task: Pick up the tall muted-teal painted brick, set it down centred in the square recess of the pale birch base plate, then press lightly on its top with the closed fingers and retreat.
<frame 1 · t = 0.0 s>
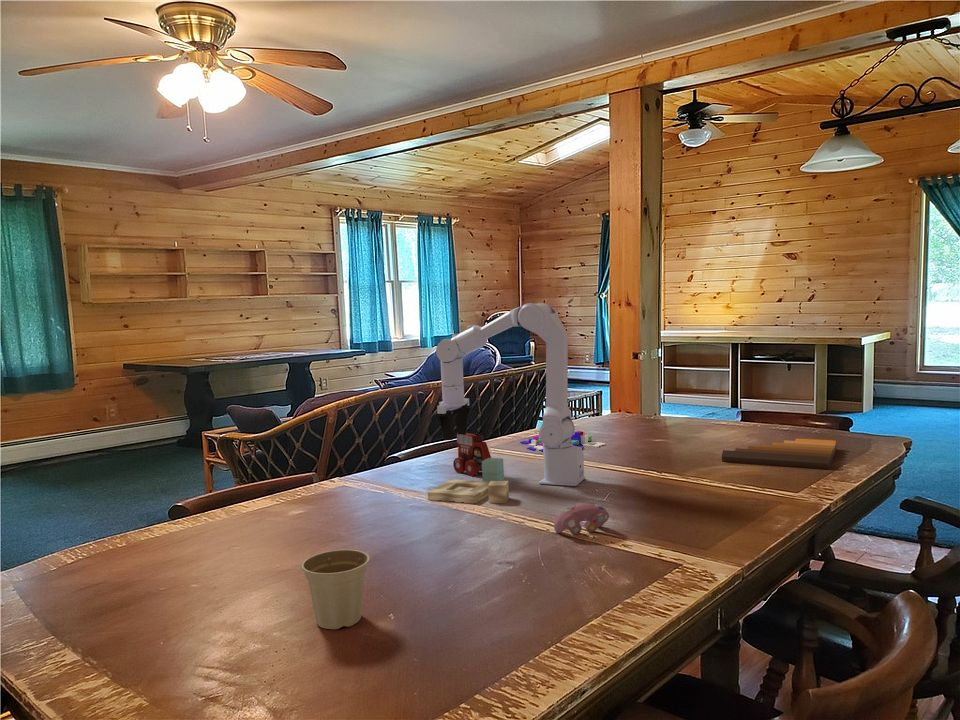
hand: (455, 436, 178), 10 cm above the table, tool pointing down, fingers open, 7 cm apart
base plate: (463, 494, 159), on the table
pan flute: (780, 458, 183), on the table
building block set: (558, 447, 211), on the table
flower pot: (339, 621, 96), on the table
teal brick: (493, 483, 168), on the table
toy fire truck: (474, 473, 181), on the table
video game controller: (582, 533, 129), on the table
maple cube: (499, 500, 153), on the table
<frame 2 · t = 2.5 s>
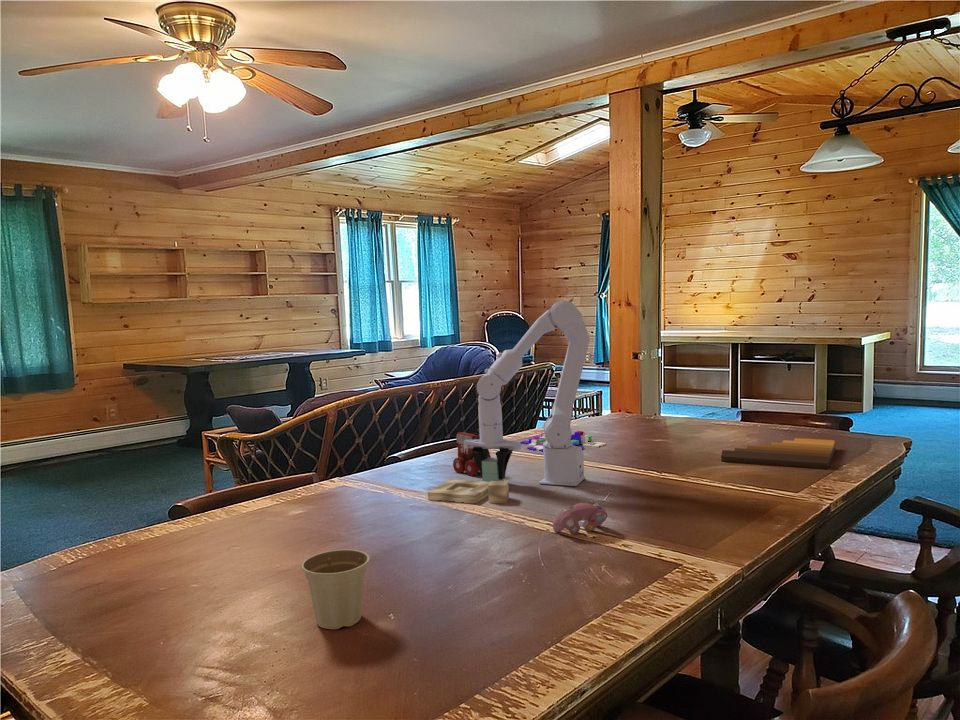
hand: (493, 478, 168), 1 cm above the table, tool pointing down, fingers closed on teal brick, 4 cm apart
teal brick: (493, 483, 168), on the table, touching gripper
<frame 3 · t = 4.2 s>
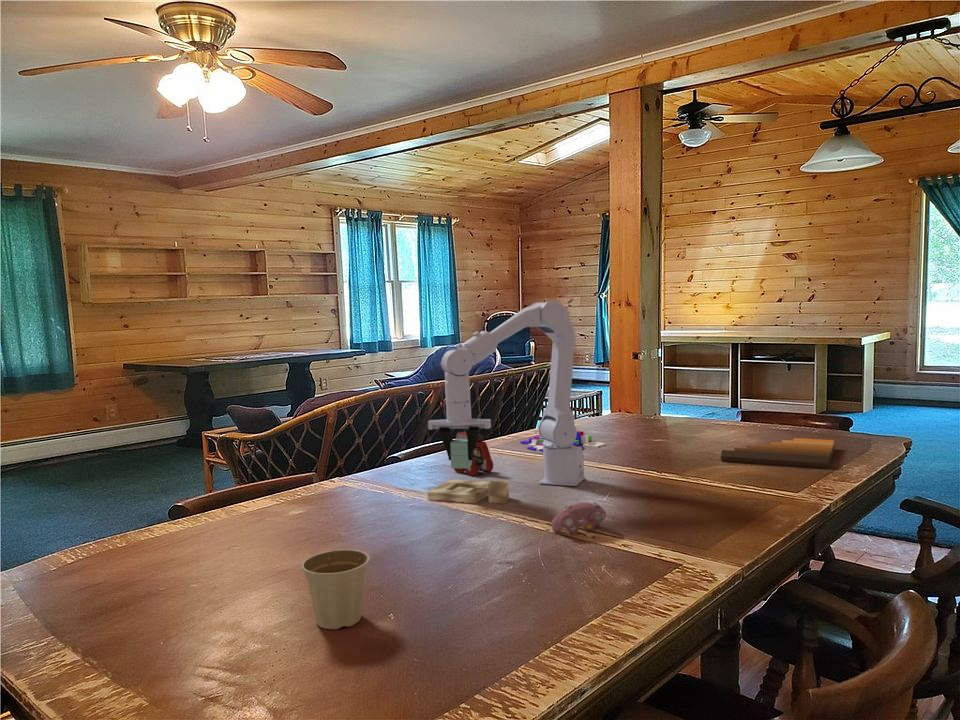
hand: (461, 459, 158), 8 cm above the table, tool pointing down, fingers closed on teal brick, 4 cm apart
teal brick: (461, 466, 159), point 7 cm above the table, touching gripper
when the fingers open (3 cm above the table, at t = 5.9 s): teal brick stays where it is, resting on base plate.
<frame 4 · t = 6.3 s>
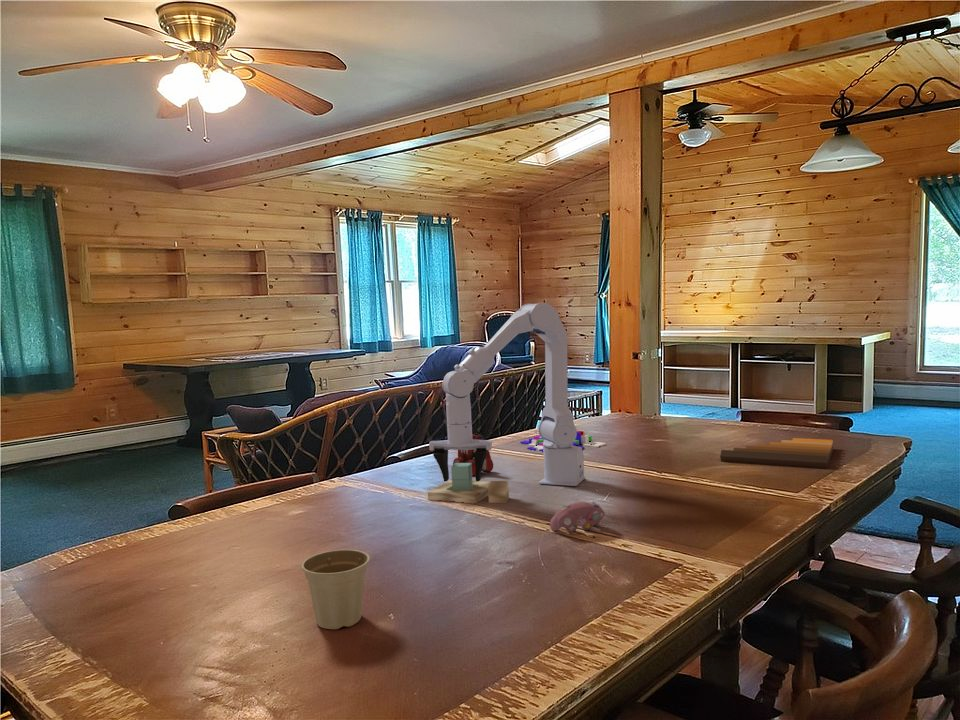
hand: (462, 480, 159), 3 cm above the table, tool pointing down, fingers open, 7 cm apart
teal brick: (462, 490, 159), point 1 cm above the table, touching base plate
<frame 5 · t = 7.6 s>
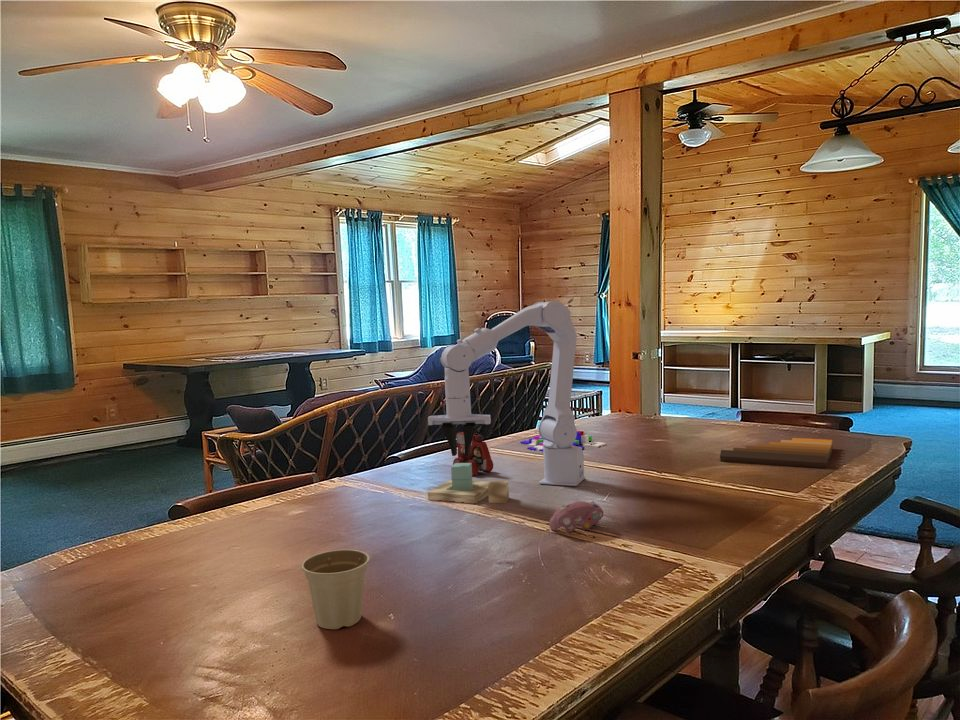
hand: (461, 455, 158), 9 cm above the table, tool pointing down, fingers closed
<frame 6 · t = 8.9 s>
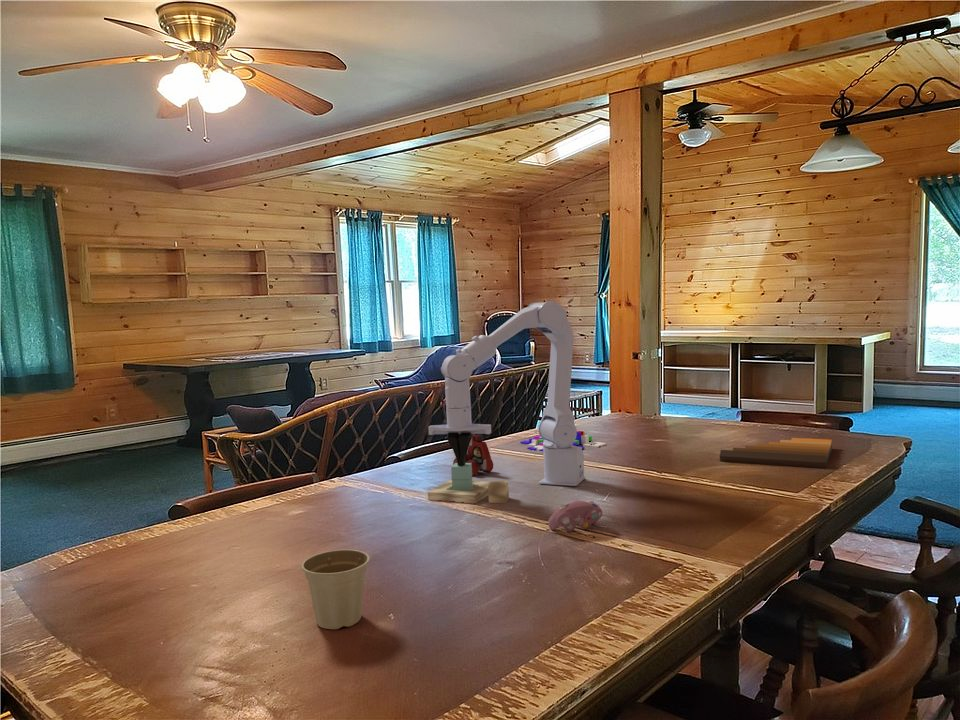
hand: (461, 464, 159), 7 cm above the table, tool pointing down, fingers closed
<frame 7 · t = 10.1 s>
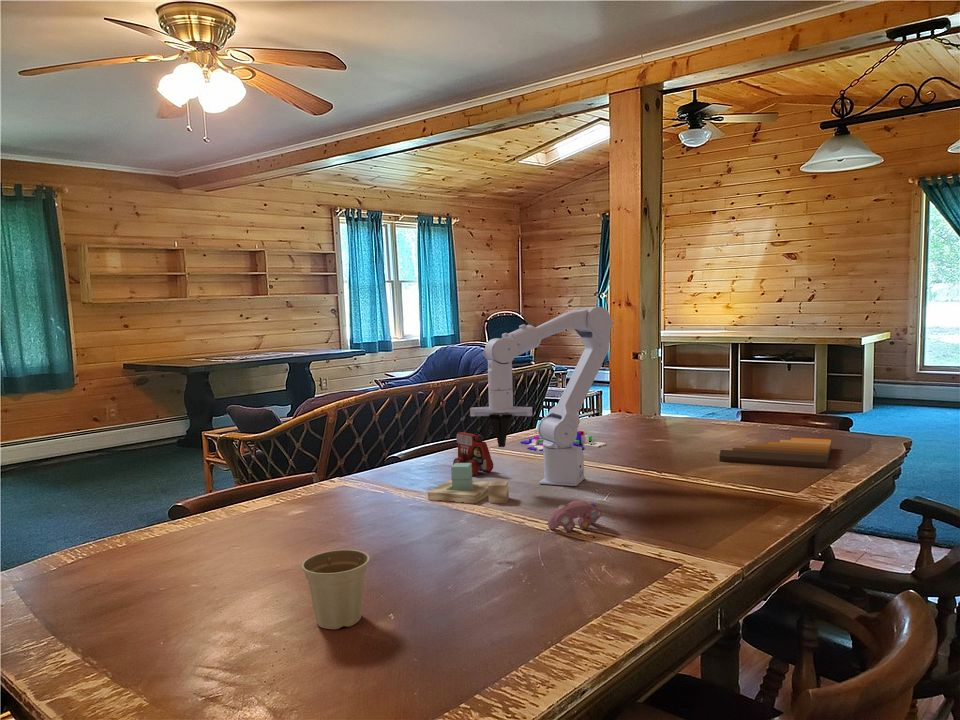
hand: (501, 446, 161), 10 cm above the table, tool pointing down, fingers closed
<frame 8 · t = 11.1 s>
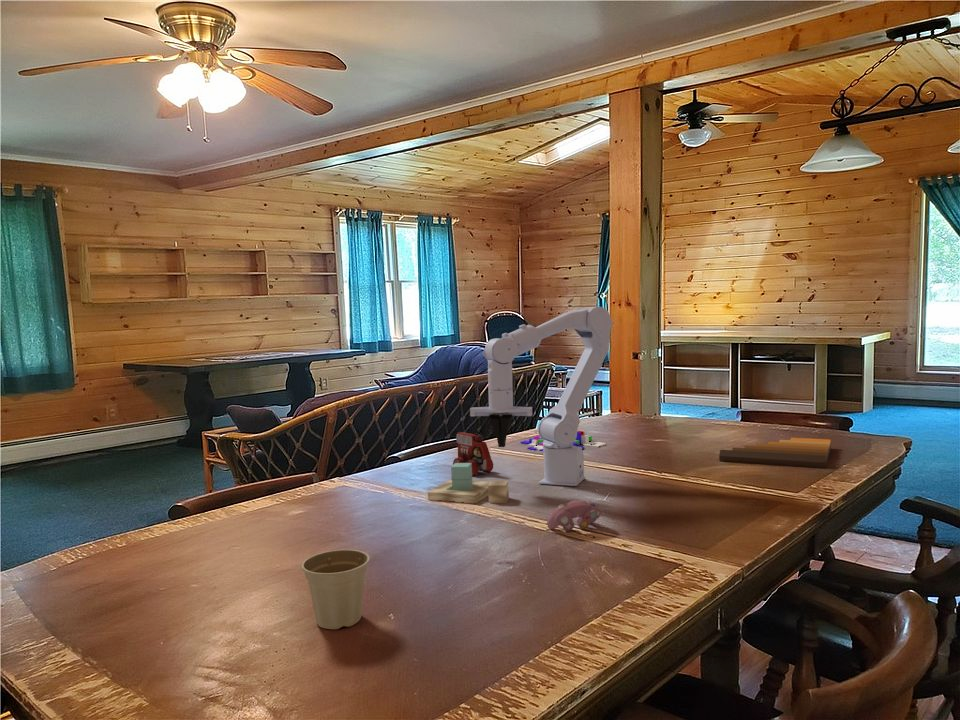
hand: (501, 446, 161), 10 cm above the table, tool pointing down, fingers closed
at the end: teal brick 0.2 cm off-centre on the base plate, point 1.0 cm above the base plate's base; teal brick tilted 0°; the gripper is holding nothing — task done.
